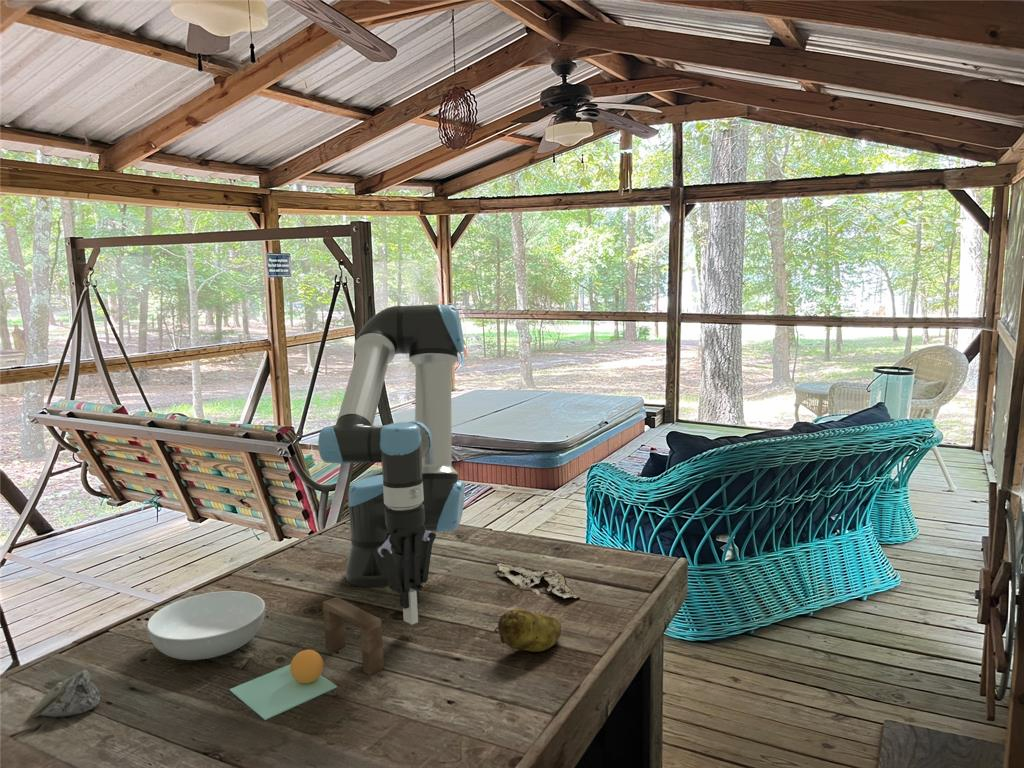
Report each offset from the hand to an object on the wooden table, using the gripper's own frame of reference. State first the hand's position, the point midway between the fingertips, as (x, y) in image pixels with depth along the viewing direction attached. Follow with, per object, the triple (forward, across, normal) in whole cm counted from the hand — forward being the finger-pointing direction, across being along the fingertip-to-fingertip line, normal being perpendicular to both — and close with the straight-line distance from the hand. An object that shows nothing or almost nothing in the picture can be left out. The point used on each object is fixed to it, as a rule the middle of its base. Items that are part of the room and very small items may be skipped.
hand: (410, 621), depth 145 cm
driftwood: (+3, +33, -2) cm, 33 cm away
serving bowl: (+3, -29, +25) cm, 38 cm away
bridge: (+2, -13, 0) cm, 13 cm away
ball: (-1, -23, -1) cm, 23 cm away
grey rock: (+3, -54, +22) cm, 58 cm away
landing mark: (+2, -27, 0) cm, 27 cm away
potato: (+3, +11, -22) cm, 25 cm away
